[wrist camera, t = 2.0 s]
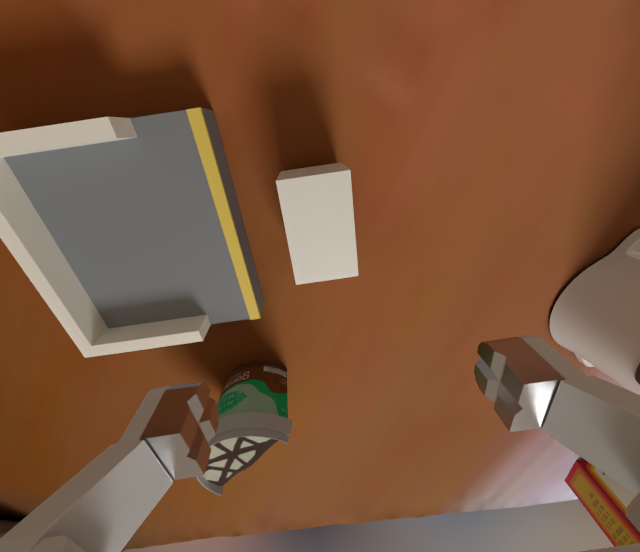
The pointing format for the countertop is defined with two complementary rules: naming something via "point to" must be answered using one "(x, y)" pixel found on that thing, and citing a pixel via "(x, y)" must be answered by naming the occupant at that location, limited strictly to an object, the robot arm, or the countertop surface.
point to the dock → (129, 228)
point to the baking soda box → (604, 502)
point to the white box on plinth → (319, 222)
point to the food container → (247, 421)
